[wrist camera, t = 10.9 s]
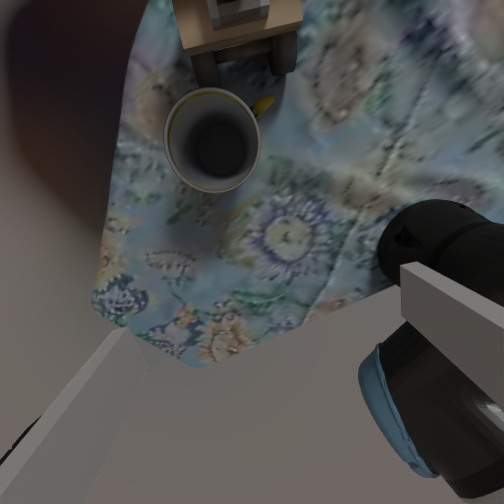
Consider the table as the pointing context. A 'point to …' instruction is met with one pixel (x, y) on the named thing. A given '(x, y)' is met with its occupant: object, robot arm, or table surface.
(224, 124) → the ceramic cup
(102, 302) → the table surface
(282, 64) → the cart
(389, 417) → the robot arm
